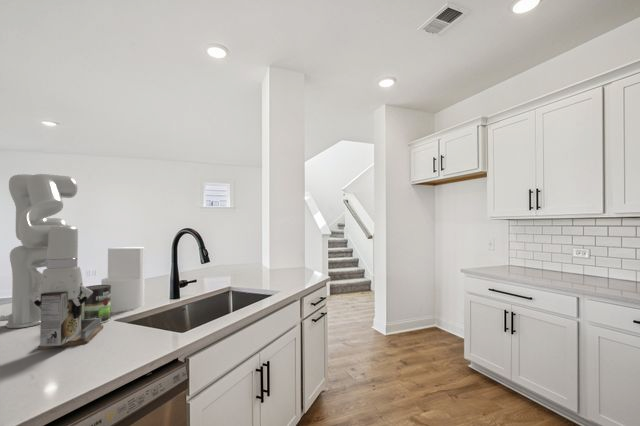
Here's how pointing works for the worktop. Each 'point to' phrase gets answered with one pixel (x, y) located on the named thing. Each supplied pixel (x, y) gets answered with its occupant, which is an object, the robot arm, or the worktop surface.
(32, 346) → the worktop surface
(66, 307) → the coffee box
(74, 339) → the dock
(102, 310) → the coffee can
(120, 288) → the tall white block
